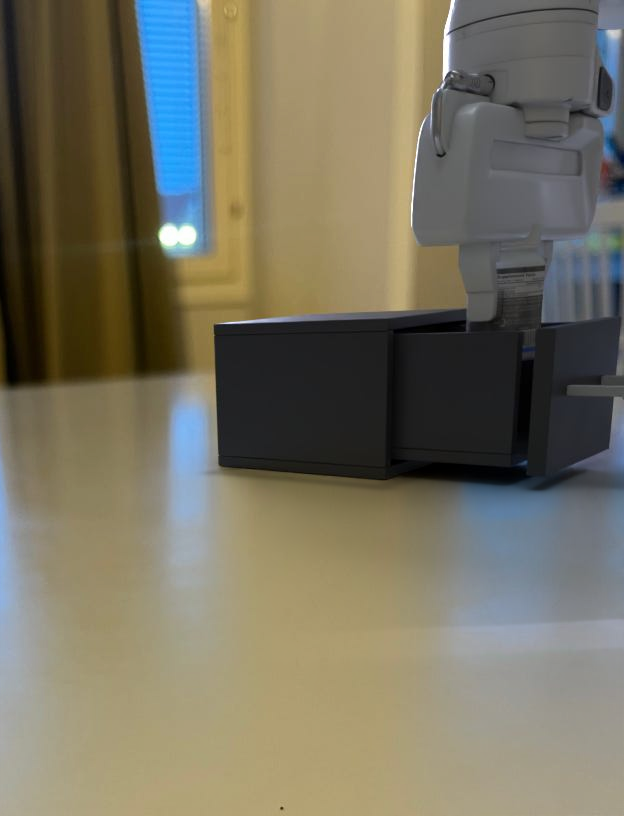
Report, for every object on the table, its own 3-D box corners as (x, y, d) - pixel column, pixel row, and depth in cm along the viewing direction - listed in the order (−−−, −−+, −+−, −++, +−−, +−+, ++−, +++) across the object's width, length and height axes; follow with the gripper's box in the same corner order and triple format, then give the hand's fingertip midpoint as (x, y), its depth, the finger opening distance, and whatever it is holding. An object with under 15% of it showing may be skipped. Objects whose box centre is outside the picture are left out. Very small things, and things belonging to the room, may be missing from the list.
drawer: (683, 452, 66) (699, 314, 63) (625, 482, 58) (640, 326, 55) (430, 439, 78) (434, 322, 75) (353, 462, 70) (355, 332, 67)
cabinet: (467, 451, 77) (474, 307, 73) (384, 479, 68) (388, 318, 64) (307, 442, 86) (307, 314, 83) (217, 465, 77) (212, 324, 74)
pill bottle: (456, 359, 69) (461, 230, 66) (525, 355, 69) (533, 225, 66) (476, 364, 65) (482, 225, 62) (549, 360, 64) (559, 220, 61)
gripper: (493, 53, 52) (481, 328, 57) (625, 88, 66) (607, 306, 71) (386, 76, 56) (382, 330, 61) (531, 105, 70) (520, 310, 75)
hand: (504, 317), depth 66 cm, fingers closed on pill bottle, 5 cm apart
